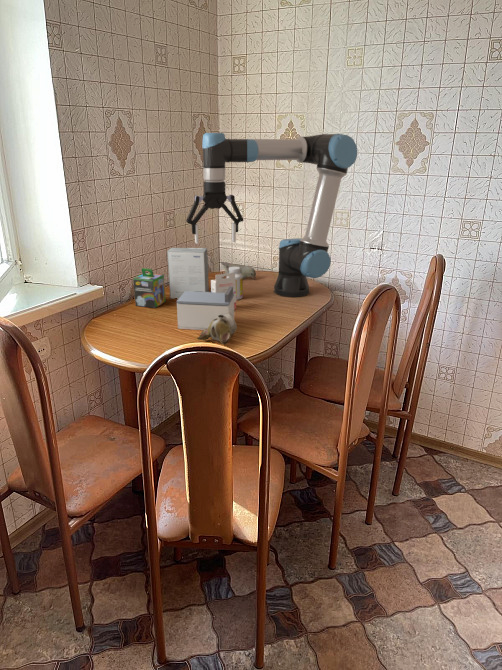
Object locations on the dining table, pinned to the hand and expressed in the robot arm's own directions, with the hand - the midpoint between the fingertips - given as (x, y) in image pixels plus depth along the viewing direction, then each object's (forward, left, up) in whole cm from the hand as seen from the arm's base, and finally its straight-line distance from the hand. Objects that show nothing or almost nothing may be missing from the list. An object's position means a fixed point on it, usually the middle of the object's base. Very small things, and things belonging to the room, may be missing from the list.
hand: (215, 242), depth 183 cm
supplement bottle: (-4, -21, -27) cm, 35 cm away
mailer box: (+1, +11, -27) cm, 29 cm away
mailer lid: (+1, +11, -18) cm, 21 cm away
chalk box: (+28, -8, -27) cm, 40 cm away
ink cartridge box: (-2, -6, -27) cm, 28 cm away
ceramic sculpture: (-6, +25, -28) cm, 38 cm away
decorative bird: (0, -51, -28) cm, 58 cm away
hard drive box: (+15, -20, -27) cm, 37 cm away
